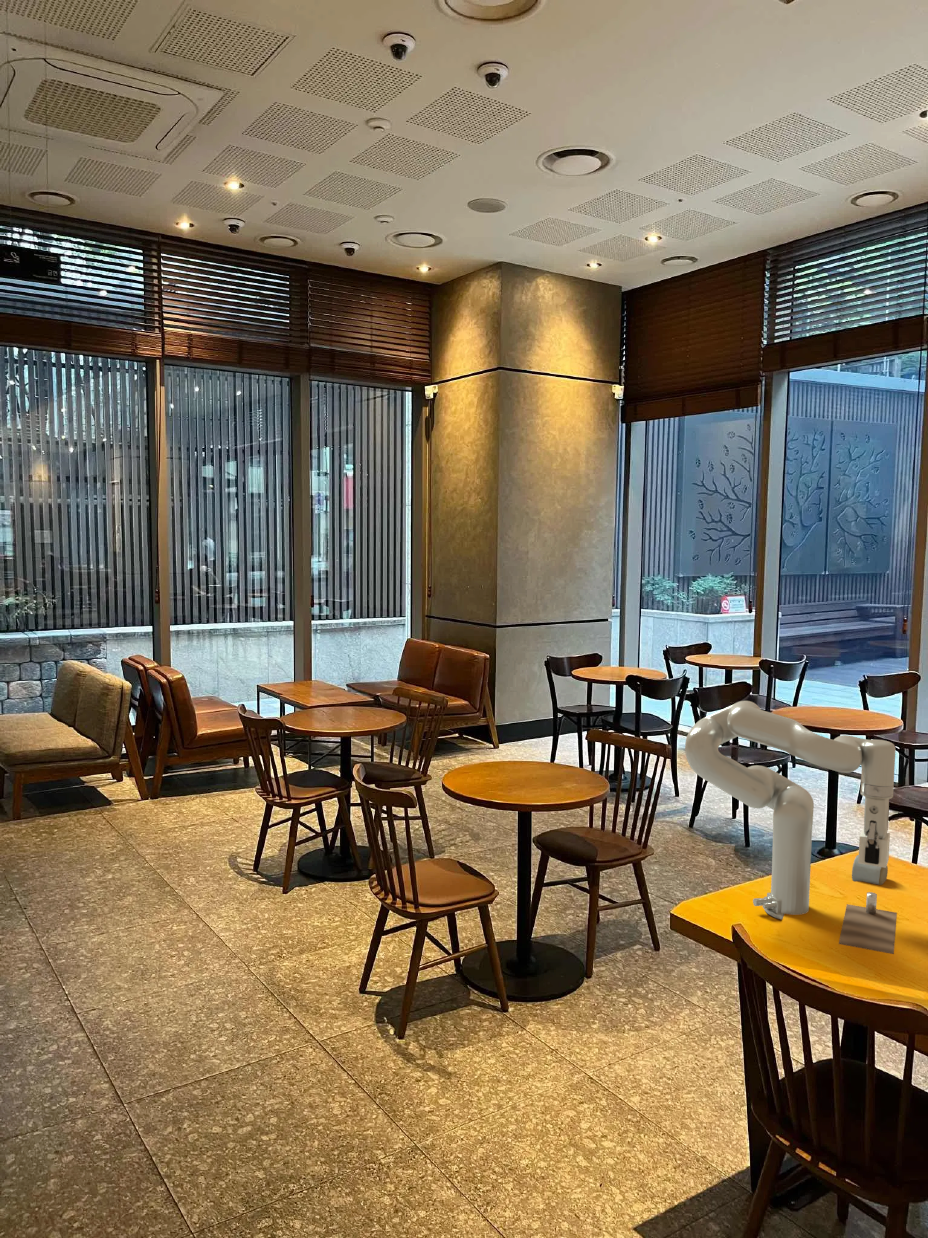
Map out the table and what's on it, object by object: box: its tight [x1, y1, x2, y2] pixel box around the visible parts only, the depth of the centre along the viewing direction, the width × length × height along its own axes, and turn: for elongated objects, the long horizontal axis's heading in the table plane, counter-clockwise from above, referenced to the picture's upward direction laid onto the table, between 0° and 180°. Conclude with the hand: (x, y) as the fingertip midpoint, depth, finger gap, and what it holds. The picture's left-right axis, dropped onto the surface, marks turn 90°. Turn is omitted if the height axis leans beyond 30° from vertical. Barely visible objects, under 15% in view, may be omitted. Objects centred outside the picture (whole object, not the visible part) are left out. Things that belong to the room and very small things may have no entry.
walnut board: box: [838, 904, 898, 955], centre depth 233 cm, size 26×12×2 cm, turn 154°
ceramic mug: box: [851, 854, 889, 886], centre depth 266 cm, size 11×8×8 cm
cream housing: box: [858, 828, 891, 868], centre depth 236 cm, size 6×6×7 cm
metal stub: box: [865, 891, 878, 915], centre depth 241 cm, size 2×2×5 cm
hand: (873, 858), depth 236 cm, fingers closed on cream housing, 6 cm apart
